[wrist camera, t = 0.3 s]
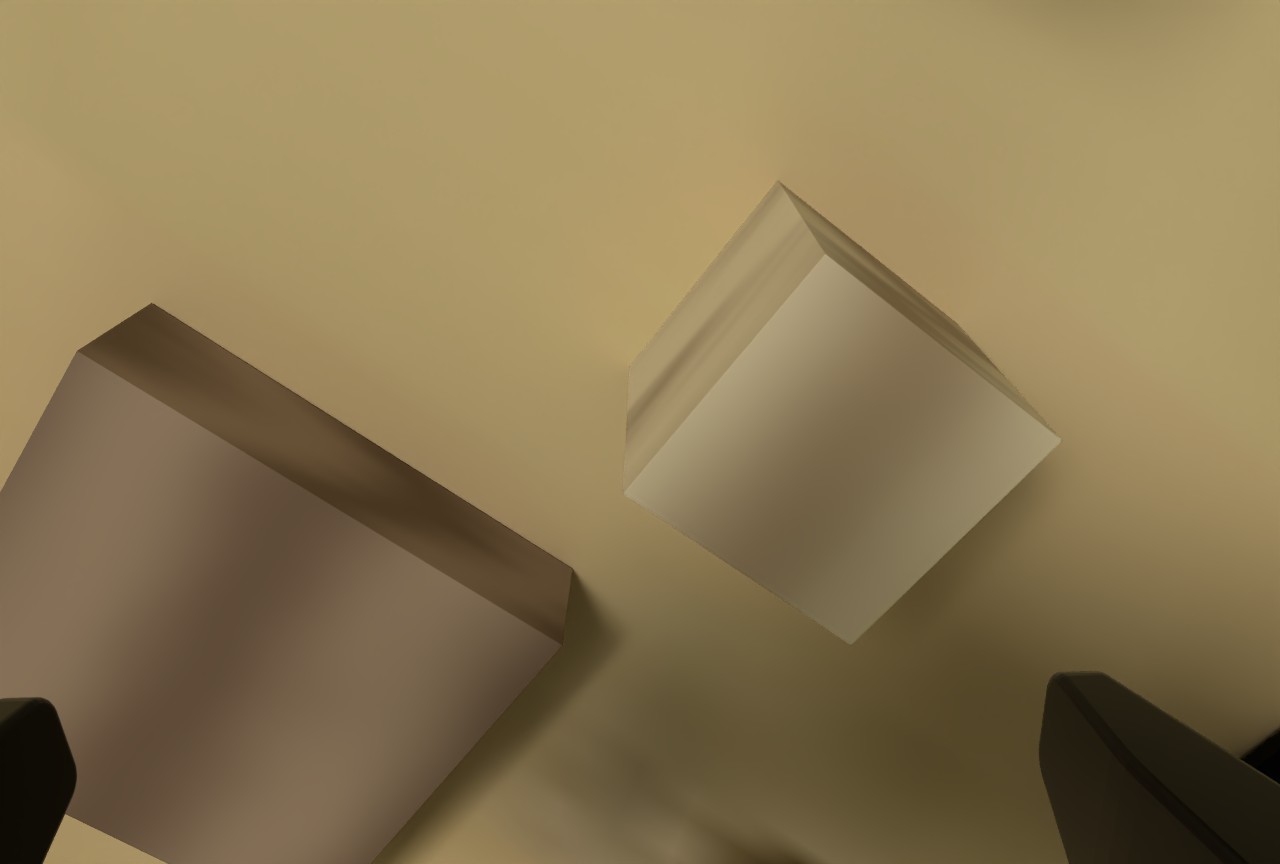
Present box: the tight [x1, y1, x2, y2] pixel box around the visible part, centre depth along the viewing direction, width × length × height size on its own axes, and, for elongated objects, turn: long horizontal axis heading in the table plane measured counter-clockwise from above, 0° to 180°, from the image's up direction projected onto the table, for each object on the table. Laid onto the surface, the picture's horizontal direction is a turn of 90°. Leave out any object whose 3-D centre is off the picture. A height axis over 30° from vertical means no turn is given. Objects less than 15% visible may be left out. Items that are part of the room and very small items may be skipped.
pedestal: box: [0, 303, 572, 864], centre depth 23 cm, size 11×11×3 cm
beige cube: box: [623, 180, 1062, 645], centre depth 19 cm, size 5×5×6 cm
